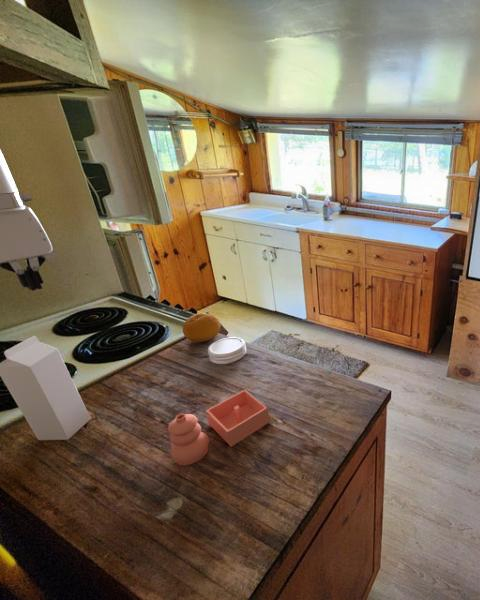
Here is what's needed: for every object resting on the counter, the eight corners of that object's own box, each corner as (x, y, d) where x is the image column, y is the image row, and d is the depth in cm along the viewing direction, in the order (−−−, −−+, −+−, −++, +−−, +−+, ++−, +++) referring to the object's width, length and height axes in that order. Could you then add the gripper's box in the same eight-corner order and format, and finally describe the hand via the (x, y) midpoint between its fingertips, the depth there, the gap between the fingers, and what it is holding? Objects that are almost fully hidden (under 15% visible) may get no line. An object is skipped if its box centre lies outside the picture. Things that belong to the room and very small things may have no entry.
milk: (91, 418, 73) (52, 334, 64) (68, 440, 68) (21, 352, 58) (62, 419, 73) (19, 334, 64) (36, 440, 67) (-15, 351, 58)
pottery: (247, 402, 80) (241, 370, 75) (269, 421, 75) (264, 387, 70) (164, 450, 66) (151, 414, 62) (184, 477, 61) (171, 439, 57)
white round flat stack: (253, 353, 99) (252, 343, 97) (222, 369, 91) (220, 359, 89) (234, 342, 103) (232, 333, 102) (202, 357, 96) (200, 347, 94)
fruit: (177, 341, 102) (171, 319, 99) (207, 327, 111) (202, 306, 108) (200, 350, 99) (195, 327, 96) (229, 334, 108) (225, 312, 104)
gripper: (39, 196, 71) (71, 275, 79) (-74, 204, 59) (-23, 296, 67) (53, 200, 68) (85, 281, 76) (-63, 209, 56) (-11, 304, 64)
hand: (34, 288), depth 71 cm, fingers closed
